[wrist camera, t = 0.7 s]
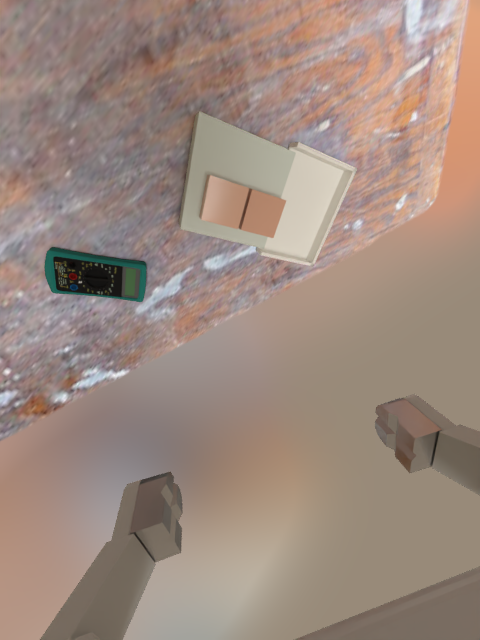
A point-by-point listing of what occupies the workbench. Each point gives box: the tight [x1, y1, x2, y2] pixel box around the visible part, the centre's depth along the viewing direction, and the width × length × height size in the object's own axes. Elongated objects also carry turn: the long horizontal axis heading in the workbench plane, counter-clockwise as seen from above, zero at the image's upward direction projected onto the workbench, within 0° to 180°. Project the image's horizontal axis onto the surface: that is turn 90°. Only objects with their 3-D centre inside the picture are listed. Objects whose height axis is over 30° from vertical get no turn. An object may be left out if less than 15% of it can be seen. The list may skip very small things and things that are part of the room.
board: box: [179, 111, 296, 249], centre depth 39 cm, size 15×15×4 cm
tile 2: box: [199, 174, 249, 229], centre depth 37 cm, size 6×6×2 cm
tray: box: [256, 142, 357, 266], centre depth 45 cm, size 18×12×3 cm
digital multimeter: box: [45, 247, 146, 302], centre depth 42 cm, size 7×15×3 cm, turn 74°
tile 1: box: [239, 188, 286, 238], centre depth 39 cm, size 6×6×2 cm
